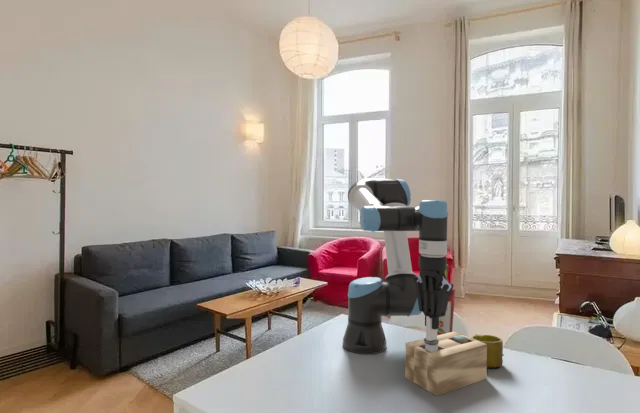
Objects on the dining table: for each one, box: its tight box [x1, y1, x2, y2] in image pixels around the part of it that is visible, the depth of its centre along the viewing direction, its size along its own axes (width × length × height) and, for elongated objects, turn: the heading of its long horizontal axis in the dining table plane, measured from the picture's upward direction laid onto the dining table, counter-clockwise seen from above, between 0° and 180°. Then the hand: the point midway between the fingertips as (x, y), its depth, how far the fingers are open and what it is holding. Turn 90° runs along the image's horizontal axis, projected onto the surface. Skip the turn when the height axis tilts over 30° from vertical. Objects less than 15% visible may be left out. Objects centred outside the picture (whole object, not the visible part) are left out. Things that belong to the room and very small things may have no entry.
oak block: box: [404, 331, 488, 397], centre depth 112 cm, size 12×20×10 cm, turn 120°
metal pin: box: [423, 337, 439, 352], centre depth 108 cm, size 4×4×9 cm
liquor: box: [437, 264, 456, 335], centre depth 139 cm, size 7×7×28 cm
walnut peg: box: [453, 335, 468, 344], centre depth 115 cm, size 4×4×9 cm
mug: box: [470, 333, 504, 369], centre depth 123 cm, size 12×10×10 cm
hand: (431, 339), depth 108 cm, fingers closed
